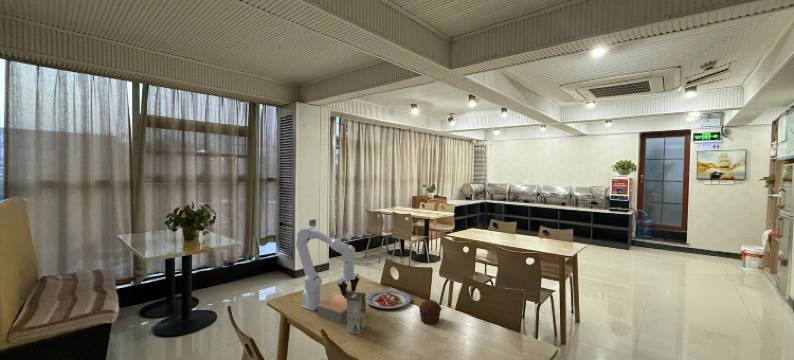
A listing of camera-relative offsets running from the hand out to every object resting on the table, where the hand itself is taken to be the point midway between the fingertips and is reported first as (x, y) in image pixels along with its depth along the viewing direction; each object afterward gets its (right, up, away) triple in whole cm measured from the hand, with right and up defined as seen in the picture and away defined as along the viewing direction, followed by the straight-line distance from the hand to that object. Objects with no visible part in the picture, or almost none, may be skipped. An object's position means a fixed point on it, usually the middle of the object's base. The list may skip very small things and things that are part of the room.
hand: (348, 293), depth 180 cm
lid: (-4, -4, -5) cm, 7 cm away
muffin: (+43, -10, -13) cm, 46 cm away
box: (-4, -9, -5) cm, 11 cm away
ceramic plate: (+21, -9, +11) cm, 25 cm away
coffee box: (+7, -10, -22) cm, 25 cm away
